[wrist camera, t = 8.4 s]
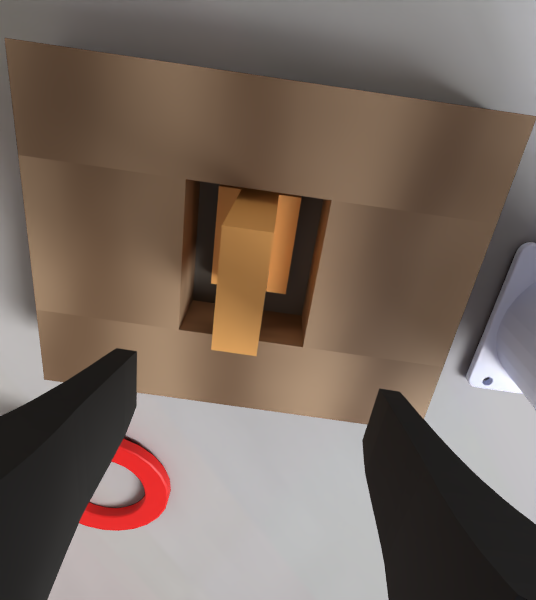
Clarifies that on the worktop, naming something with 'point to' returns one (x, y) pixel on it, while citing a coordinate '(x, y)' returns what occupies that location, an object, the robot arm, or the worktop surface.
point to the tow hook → (146, 508)
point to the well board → (262, 176)
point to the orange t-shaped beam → (249, 261)
